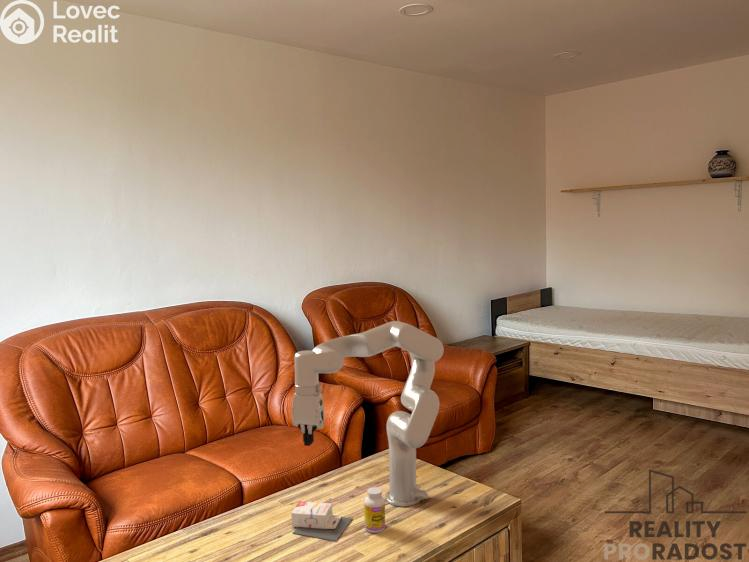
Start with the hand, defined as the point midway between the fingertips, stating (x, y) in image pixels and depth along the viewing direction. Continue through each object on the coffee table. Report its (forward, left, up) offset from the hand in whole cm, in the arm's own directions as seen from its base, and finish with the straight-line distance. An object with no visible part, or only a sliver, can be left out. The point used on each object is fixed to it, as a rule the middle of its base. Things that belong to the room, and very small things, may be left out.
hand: (308, 444), depth 186 cm
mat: (-5, +1, -27) cm, 27 cm away
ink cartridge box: (+6, 0, -24) cm, 25 cm away
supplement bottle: (-21, -3, -27) cm, 35 cm away
